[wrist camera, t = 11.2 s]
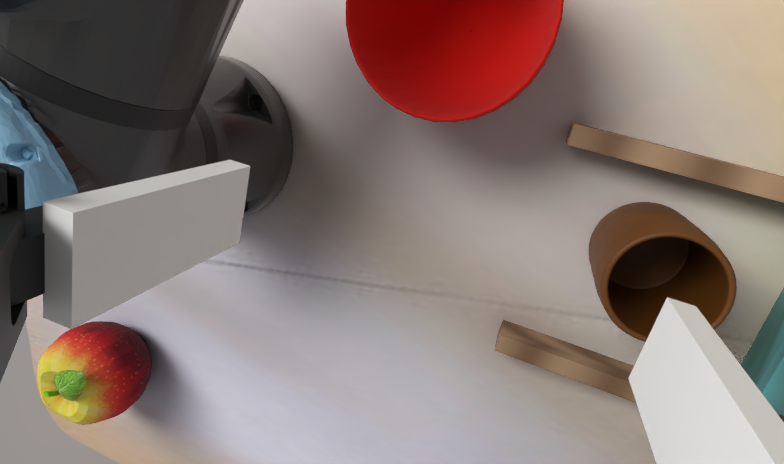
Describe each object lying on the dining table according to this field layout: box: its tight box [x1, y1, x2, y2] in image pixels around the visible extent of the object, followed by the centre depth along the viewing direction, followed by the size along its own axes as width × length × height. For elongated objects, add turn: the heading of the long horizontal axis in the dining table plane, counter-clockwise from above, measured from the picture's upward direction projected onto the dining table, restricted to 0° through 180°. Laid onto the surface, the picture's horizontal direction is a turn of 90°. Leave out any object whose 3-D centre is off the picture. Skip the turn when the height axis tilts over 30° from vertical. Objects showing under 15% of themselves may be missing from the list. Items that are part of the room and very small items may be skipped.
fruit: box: [37, 321, 151, 425], centre depth 53 cm, size 11×11×10 cm
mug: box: [589, 202, 736, 342], centre depth 34 cm, size 12×8×9 cm, turn 14°
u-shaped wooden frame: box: [495, 123, 784, 416], centre depth 36 cm, size 20×19×4 cm
